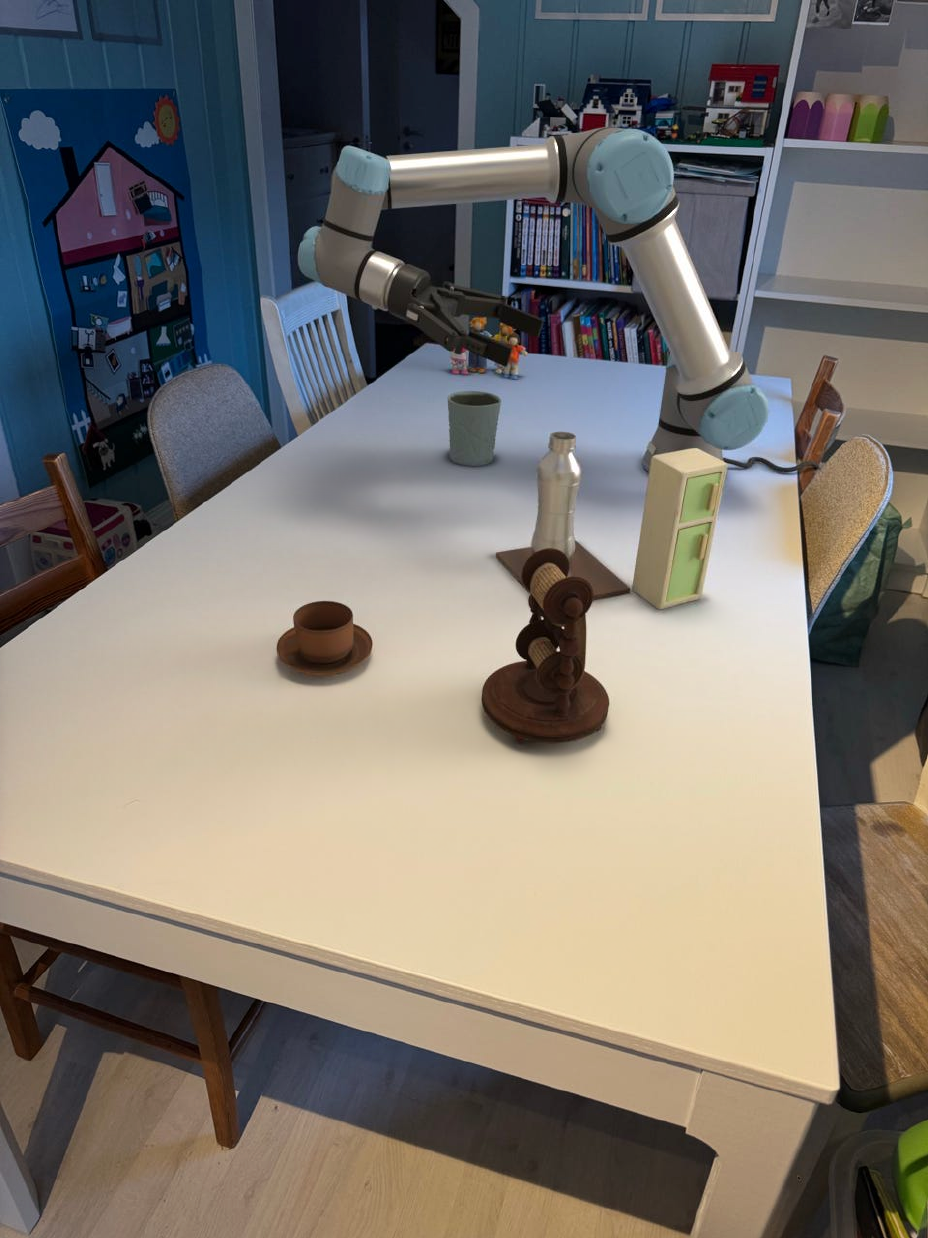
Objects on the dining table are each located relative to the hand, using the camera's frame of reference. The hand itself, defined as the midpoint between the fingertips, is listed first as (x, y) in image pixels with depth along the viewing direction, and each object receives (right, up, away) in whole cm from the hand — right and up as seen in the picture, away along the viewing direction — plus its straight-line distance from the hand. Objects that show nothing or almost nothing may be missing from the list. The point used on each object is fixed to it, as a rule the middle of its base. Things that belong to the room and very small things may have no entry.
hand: (526, 342), depth 128 cm
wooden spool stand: (0, -51, -24) cm, 57 cm away
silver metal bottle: (+4, -31, +8) cm, 33 cm away
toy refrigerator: (+21, -37, +1) cm, 42 cm away
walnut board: (+6, -33, +6) cm, 34 cm away
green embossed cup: (-7, -8, +46) cm, 48 cm away
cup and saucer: (-27, -45, -15) cm, 55 cm away
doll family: (-3, +23, +98) cm, 101 cm away
